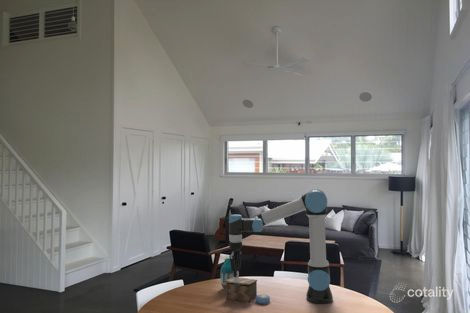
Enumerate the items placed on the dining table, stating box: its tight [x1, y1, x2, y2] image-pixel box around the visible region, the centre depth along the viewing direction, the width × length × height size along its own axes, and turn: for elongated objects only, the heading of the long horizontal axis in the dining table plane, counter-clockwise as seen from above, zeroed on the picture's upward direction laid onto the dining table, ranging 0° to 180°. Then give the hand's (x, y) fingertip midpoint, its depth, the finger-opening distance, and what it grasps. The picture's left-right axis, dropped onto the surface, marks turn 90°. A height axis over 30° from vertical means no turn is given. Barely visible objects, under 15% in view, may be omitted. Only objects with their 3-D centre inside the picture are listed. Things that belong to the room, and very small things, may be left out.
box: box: [225, 281, 258, 303], centre depth 218 cm, size 15×11×9 cm
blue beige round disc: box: [255, 294, 271, 305], centre depth 211 cm, size 8×8×3 cm
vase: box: [220, 257, 233, 290], centre depth 234 cm, size 11×11×19 cm
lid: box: [225, 277, 258, 287], centre depth 217 cm, size 16×13×2 cm
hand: (236, 282), depth 211 cm, fingers closed
